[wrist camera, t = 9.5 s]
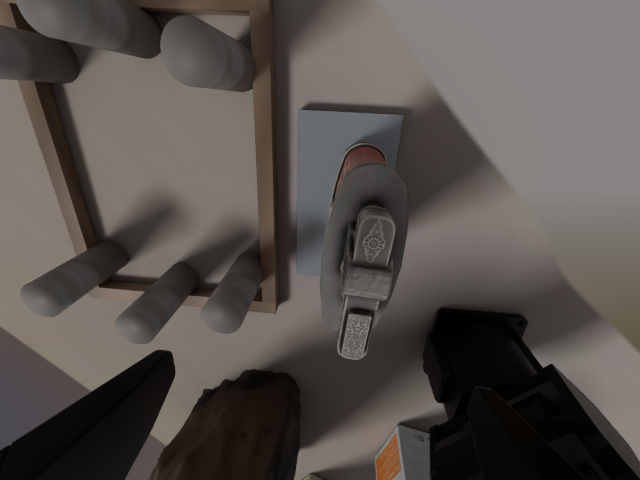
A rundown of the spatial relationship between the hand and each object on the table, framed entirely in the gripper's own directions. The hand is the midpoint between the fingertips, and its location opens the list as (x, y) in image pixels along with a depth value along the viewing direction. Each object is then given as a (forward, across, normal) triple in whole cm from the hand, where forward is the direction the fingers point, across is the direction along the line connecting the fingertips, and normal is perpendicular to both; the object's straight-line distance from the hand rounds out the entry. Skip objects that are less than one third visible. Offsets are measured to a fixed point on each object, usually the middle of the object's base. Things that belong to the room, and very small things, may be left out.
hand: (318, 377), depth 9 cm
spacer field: (+13, +12, -2) cm, 17 cm away
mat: (+13, 0, -2) cm, 13 cm away
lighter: (+12, -1, -1) cm, 13 cm away
